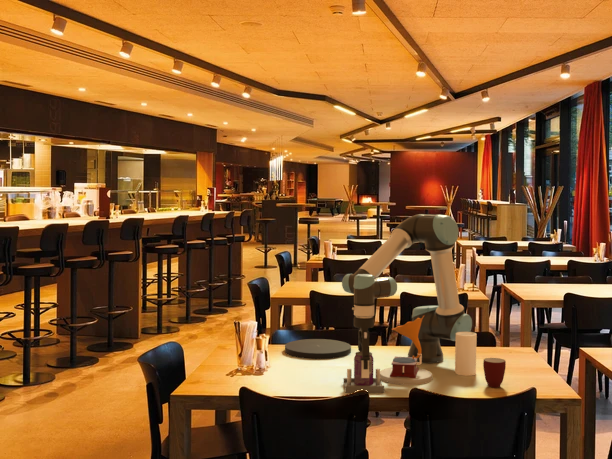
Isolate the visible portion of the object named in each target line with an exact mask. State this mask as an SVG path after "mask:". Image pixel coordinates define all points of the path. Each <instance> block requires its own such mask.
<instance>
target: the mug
mask: <svg viewBox="0 0 612 459" xmlns="http://www.w3.org/2000/svg"><path fill="white" fill-rule="evenodd" d="M482 364H483V365H482V366H483V372H484V373H483V374H484V378H485V379H484V380H485V382H486V384H487V386H488V387H489V388H492V389H493V388H494V389H496V388H500V387H501V385H502V384H503V381H504V378H505V373H506V364H507V363H506V359H504V358H500V357H486V358H484V359H483V363H482Z"/></svg>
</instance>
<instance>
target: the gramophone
mask: <svg viewBox="0 0 612 459" xmlns="http://www.w3.org/2000/svg"><path fill="white" fill-rule="evenodd" d="M423 317H424V316H423ZM423 317H422V318H421V319H420V318H417V319H416V320H415V321H413V322H412V321H407V322H406V323H405V324H403V325H398V326H396V327H393V328H391V330H392V331H394V332H396V333H398V334H400V335H401V336H403V337H406V338H407V339H409V340H411V343H412V342H413V343H414V344H415V346H416V347H417V349H418V355H417V357H414V356H413V357H408V356H394V358H393V359H392V362H391V364H390V365H392V367H388V368H387V367H386V368H384V369H382V370H381V369H380V378H381V381H383V382H385V383H389V382H390V384H395V385H408V386H409V385H421V384H427V383H430V382H432V380H433V373H432V372H431V371H430V370H427V369H424V368H420V367H418V366H420V365H421V364H423V363H422V354H421V346H420V342H419V339H418V333H419V330H420V326H421V322H422V319H423ZM420 355H421V356H420ZM418 357H420V358H419V360H420V362H416V361H417V358H418ZM417 365H418V366H417Z"/></svg>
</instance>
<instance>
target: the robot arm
mask: <svg viewBox="0 0 612 459" xmlns="http://www.w3.org/2000/svg"><path fill="white" fill-rule="evenodd" d="M459 233H460V232H459V227H458V224H457V222H456V220H455V219H454V218H452V216H450V215H445V214H424V213H419V214H415V215H412V216H410V217H408V218H406V219H405V220H403V221H402V222H400V223H399V224H398V225H397V226H396V227H394V229H393V230H392V232H391V236H389V237H388V238H387V239H386V241H385V242H384V243H383V244H381V245H380V247H379V248H377V250H376V251H375V252H374V253H373V254H371V256H370V257H369V258H368V259H367V260H366V261H365V262H364V263H363V264H362V265H361V266H360V267H359V268H358V269H357V270H356V271H355V272H354V273H346V274H345V275H344V276H343V278H342V281H341V286H342V287H341V288H342V289H343V291H344V292H346V293H348V294H352V295H353V306H354V307H353V306H352V308H351V310H352V311H353V315H354V316H353V327H354V328H357V329H358V331H357V335H358V337H357V338H358V342H357V344H358V345H357V348H358V351H357V352H362V358H360V360H362V375H361V378H369V360H370V353H369V352H370V331H369V330H368V329H372V328H374V327H375V317H374V316H375V299H382V298H390V297H393V296H394V295H395V294H396V293H397V291H398V283H397V280H396V279H395V278H394V277H391V276H384V277H381V276H380V275H381V274H382V273H383V272H384V271H385V270H386V269H387V268H388V267H389V266H390V265H391V263H392V262H393V261H394V260H395V259H396V258H398V256H399V255H400V254H401V253H402V252H403V251H404V250H405V249H408V248H410V247H411V246H412V245H414V244H417V243H423V244H424V247H425V251H427V252H428V253H429V255H430V259H431V267H432V273H433V279H434V280H433V281H434V287H435V292H436V298H437V305H422V306H417V307H415V308H413V309H412V314H411V322H413V321H415V320H416V319H417V318H420V319H421V318H422V317H423V316H424V317H423V319H422V322H421V326H420V330H419V333H418V339H419V342H420V346H421V354H422V363H421V364H423V363H424V364H435V363H440V362H442V361H444V353H443V350H442V347H441V343H440V339H441V340H448V341H452V342H455V340H456V333H457V332H472V331H471V330H472V326H473V320H472V317H471V316H470V314H467V313H465V307H464V306H463V305H462V304H460V299H459V298H460V297H459V292H458V285H457V284H458V283H457V279H456V273H455V266H454V260H453V259H454V258H453V253H452V250H453V248H454V247H455V243H456V242H457V241H458V239H459V238H458V236H459ZM379 276H380V277H379ZM407 352H408V354H407V357H413V356H414V357H417V355H418V349H417V347H416V346H415V344H414V343H413V342H412V341H411V344H410V347H409V350H408V351H407ZM420 356H421V355H420ZM419 358H420V357H418V358H417V361H416V362H420V360H419Z"/></svg>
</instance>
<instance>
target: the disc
mask: <svg viewBox="0 0 612 459" xmlns="http://www.w3.org/2000/svg"><path fill="white" fill-rule="evenodd" d="M284 352H285V354H286V355H288V356H291V357H293V358H298V359H299V358H300V359H307V360H308V359H309V360H331V359H338V358H343V357H346V356H349V355H350V354H351V353H352V345H351V344H350V343H349V342H348V343H347V342H345V341H343V340H342V341H341V340H336V339H327V338H326V339H325V338H307V339H297V340H292V341H289V342H286V343H285V345H284Z"/></svg>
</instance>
